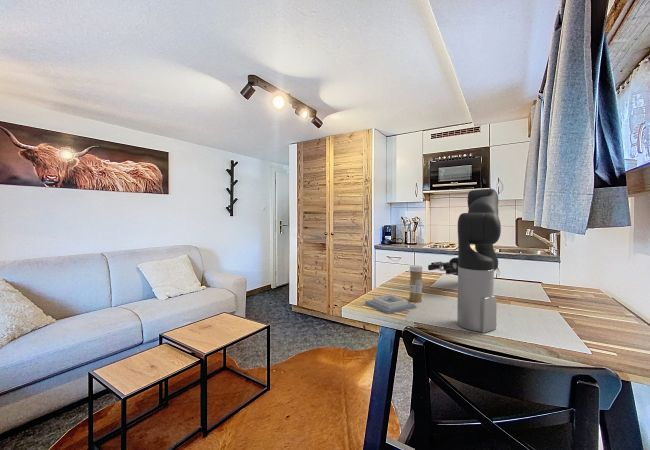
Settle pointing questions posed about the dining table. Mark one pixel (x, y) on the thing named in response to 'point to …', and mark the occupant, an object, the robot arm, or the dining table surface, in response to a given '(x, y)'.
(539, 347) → the dining table surface
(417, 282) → the sprinkles bottle
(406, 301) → the grey stepped square plate
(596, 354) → the dining table surface
